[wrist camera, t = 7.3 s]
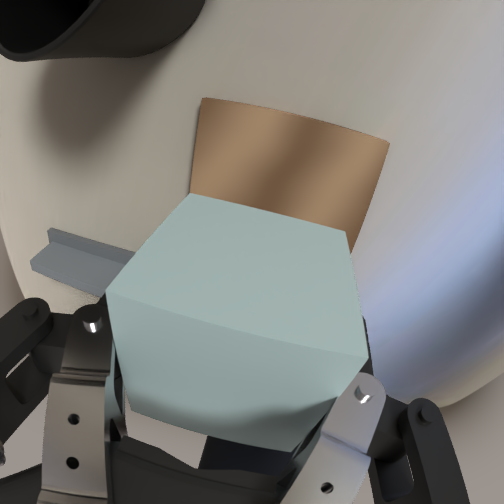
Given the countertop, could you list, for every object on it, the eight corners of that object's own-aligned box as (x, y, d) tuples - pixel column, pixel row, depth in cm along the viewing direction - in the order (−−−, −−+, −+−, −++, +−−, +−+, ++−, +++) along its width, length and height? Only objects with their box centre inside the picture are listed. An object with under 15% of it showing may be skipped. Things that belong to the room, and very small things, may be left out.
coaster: (386, 140, 16) (389, 143, 15) (333, 286, 22) (334, 293, 21) (206, 97, 16) (202, 98, 16) (187, 250, 22) (184, 256, 22)
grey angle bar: (174, 263, 23) (153, 295, 20) (173, 292, 25) (154, 325, 21) (51, 227, 24) (23, 249, 20) (55, 254, 25) (31, 277, 22)
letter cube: (345, 231, 10) (368, 357, 6) (298, 341, 13) (288, 454, 9) (190, 192, 10) (105, 290, 6) (180, 311, 13) (132, 413, 9)
